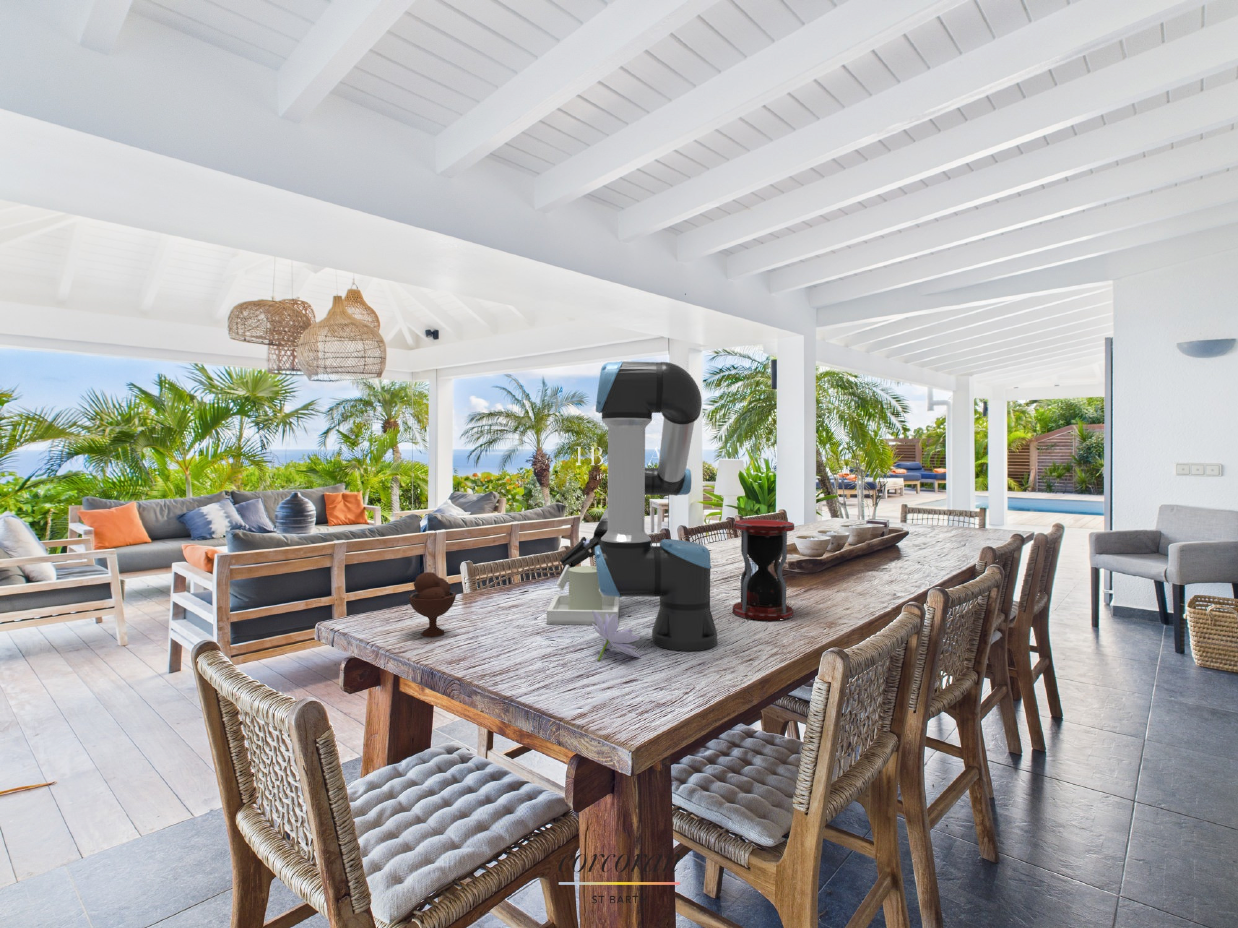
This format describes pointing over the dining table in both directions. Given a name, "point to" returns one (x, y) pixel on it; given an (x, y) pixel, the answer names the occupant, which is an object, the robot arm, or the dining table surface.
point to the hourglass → (763, 569)
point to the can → (584, 589)
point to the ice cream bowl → (431, 600)
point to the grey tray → (580, 611)
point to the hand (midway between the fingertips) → (580, 590)
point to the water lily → (614, 635)
